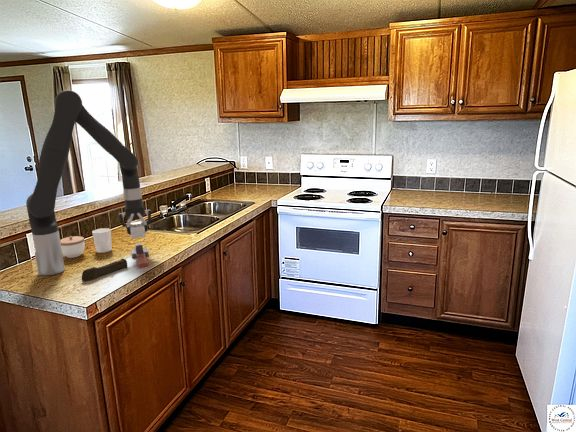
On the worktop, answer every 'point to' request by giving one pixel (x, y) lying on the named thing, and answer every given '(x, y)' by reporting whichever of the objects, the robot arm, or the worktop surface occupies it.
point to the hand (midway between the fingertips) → (137, 233)
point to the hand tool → (103, 270)
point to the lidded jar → (72, 246)
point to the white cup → (102, 240)
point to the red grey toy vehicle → (140, 255)
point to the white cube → (137, 229)
